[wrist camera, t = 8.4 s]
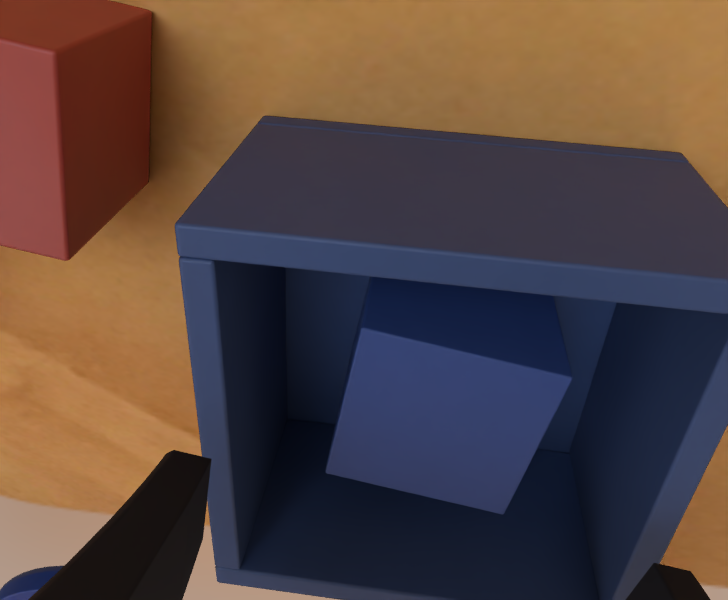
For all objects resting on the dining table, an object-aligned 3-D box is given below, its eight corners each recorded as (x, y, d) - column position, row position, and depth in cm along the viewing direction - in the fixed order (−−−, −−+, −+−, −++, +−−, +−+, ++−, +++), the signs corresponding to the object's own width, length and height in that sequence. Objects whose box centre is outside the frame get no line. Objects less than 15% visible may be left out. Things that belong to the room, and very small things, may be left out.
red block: (153, 10, 14) (55, 51, 10) (150, 183, 16) (68, 263, 12) (-34, -36, 14) (-192, -9, 10) (-11, 144, 16) (-136, 214, 12)
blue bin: (581, 454, 19) (623, 641, 14) (272, 416, 20) (215, 583, 15) (682, 151, 14) (797, 287, 9) (263, 114, 15) (172, 224, 10)
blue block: (547, 269, 15) (574, 378, 12) (494, 394, 17) (503, 516, 14) (381, 229, 15) (360, 328, 12) (349, 359, 17) (324, 473, 14)
